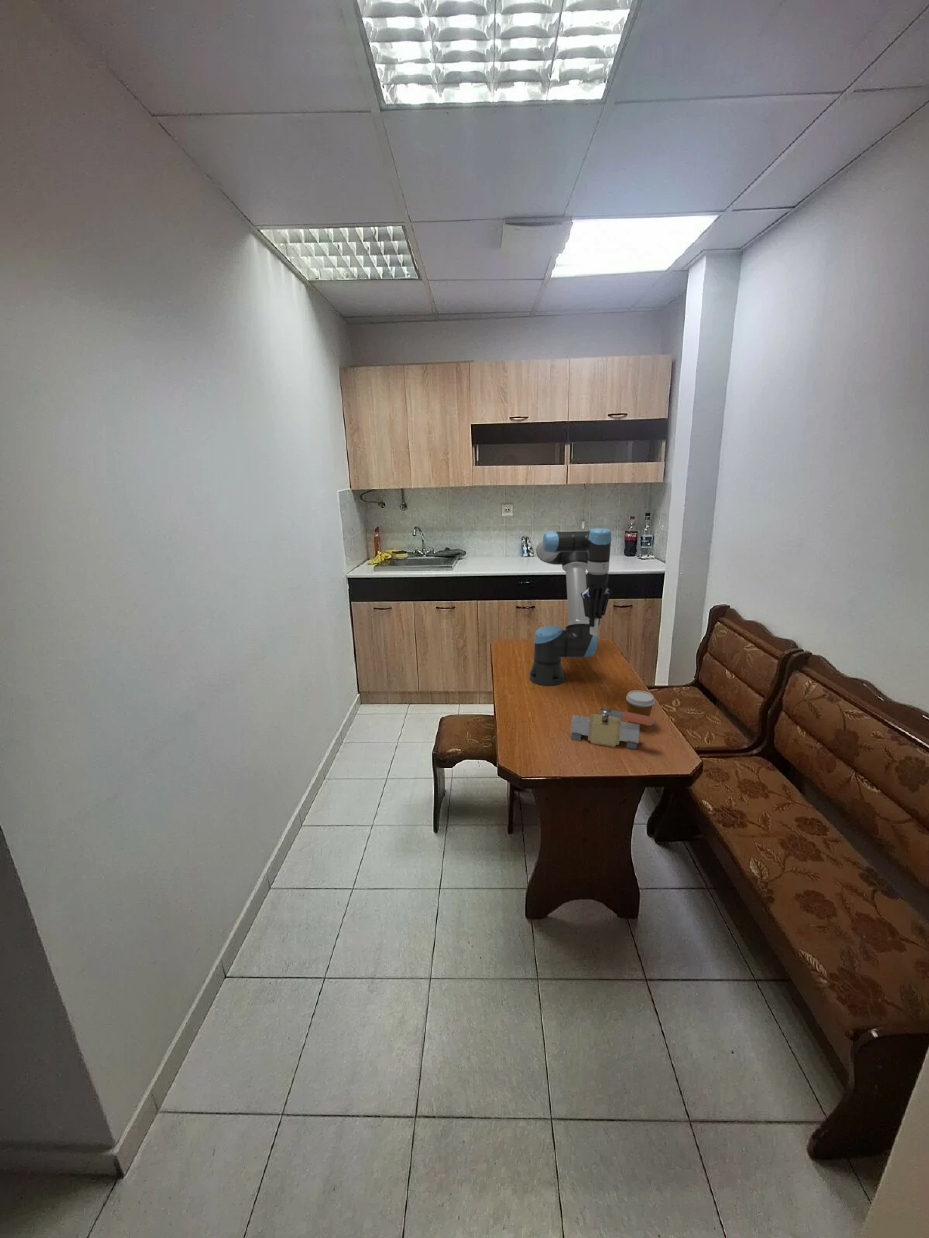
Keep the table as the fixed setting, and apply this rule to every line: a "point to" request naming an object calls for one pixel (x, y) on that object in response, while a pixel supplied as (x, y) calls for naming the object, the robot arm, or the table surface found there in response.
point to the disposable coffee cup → (640, 704)
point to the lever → (628, 716)
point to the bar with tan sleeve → (605, 730)
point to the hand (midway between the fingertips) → (593, 634)
